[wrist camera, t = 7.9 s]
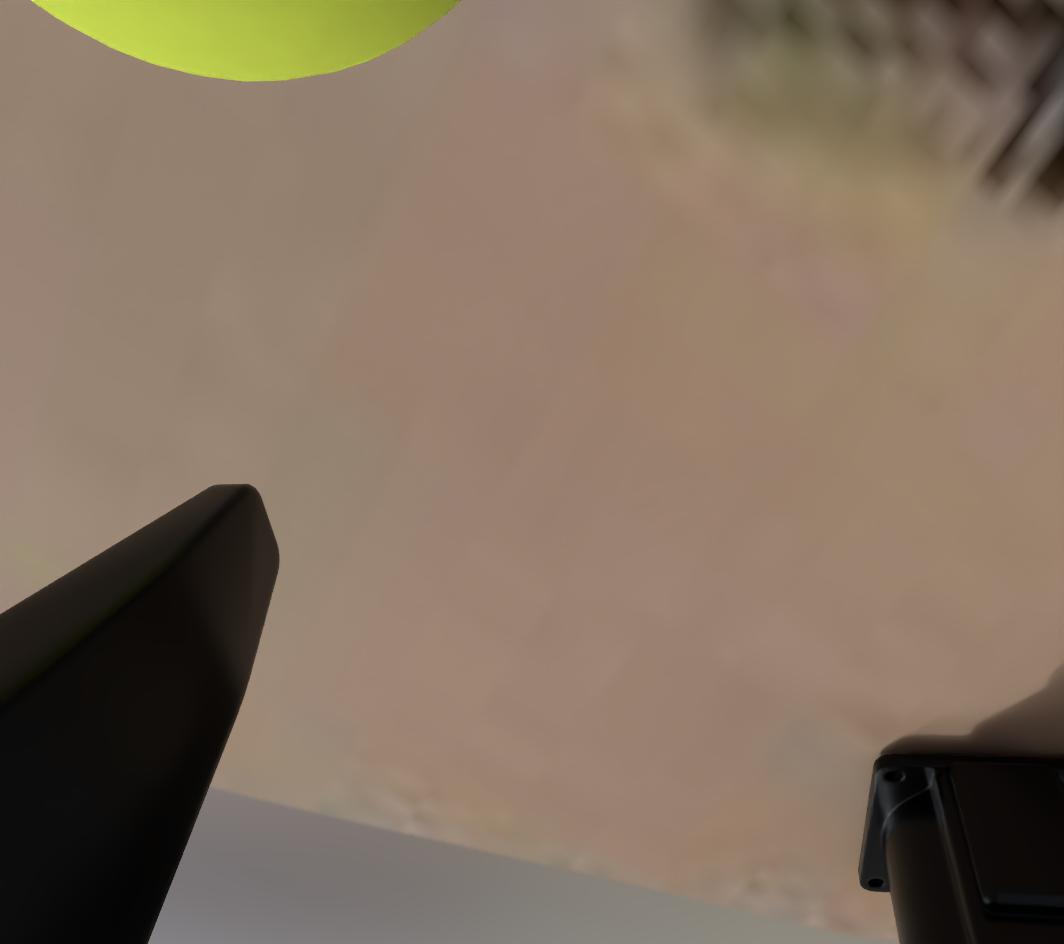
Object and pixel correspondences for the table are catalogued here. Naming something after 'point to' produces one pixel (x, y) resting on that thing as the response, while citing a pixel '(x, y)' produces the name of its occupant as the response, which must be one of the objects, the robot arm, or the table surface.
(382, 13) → the ball
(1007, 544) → the table surface
